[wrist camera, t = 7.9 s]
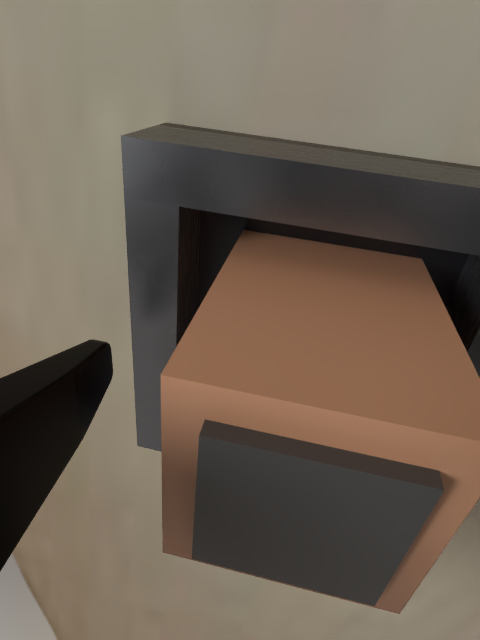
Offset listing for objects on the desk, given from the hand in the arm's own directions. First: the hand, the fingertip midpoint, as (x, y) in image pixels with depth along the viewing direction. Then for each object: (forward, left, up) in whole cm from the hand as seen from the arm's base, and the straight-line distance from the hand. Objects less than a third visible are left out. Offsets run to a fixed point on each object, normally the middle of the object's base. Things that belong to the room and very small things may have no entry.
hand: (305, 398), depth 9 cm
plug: (0, 0, -3) cm, 3 cm away
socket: (0, 0, -4) cm, 4 cm away
